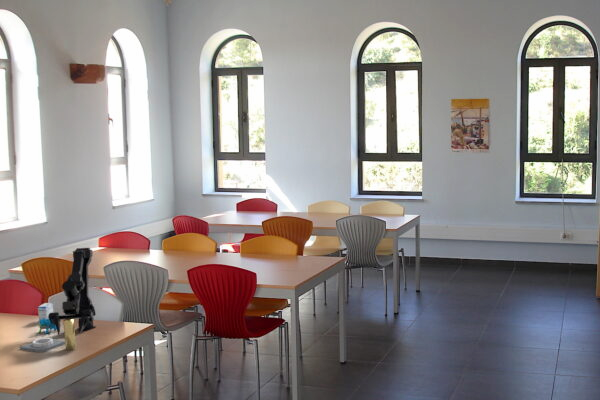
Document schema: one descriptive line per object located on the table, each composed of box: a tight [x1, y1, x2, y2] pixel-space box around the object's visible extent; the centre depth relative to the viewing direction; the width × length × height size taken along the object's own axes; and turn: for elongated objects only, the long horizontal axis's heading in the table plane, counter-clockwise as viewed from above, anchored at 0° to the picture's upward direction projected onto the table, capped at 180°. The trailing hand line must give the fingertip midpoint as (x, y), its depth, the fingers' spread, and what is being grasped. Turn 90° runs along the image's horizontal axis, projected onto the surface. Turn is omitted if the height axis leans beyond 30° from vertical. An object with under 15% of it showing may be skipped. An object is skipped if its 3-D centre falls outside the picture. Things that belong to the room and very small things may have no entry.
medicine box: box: [37, 302, 54, 322], centre depth 392 cm, size 8×4×9 cm, turn 172°
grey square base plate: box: [19, 337, 65, 353], centre depth 347 cm, size 14×14×3 cm
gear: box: [38, 318, 57, 334], centre depth 371 cm, size 11×6×10 cm
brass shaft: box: [62, 319, 77, 351], centre depth 341 cm, size 4×4×13 cm
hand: (69, 333), depth 340 cm, fingers open, 9 cm apart
